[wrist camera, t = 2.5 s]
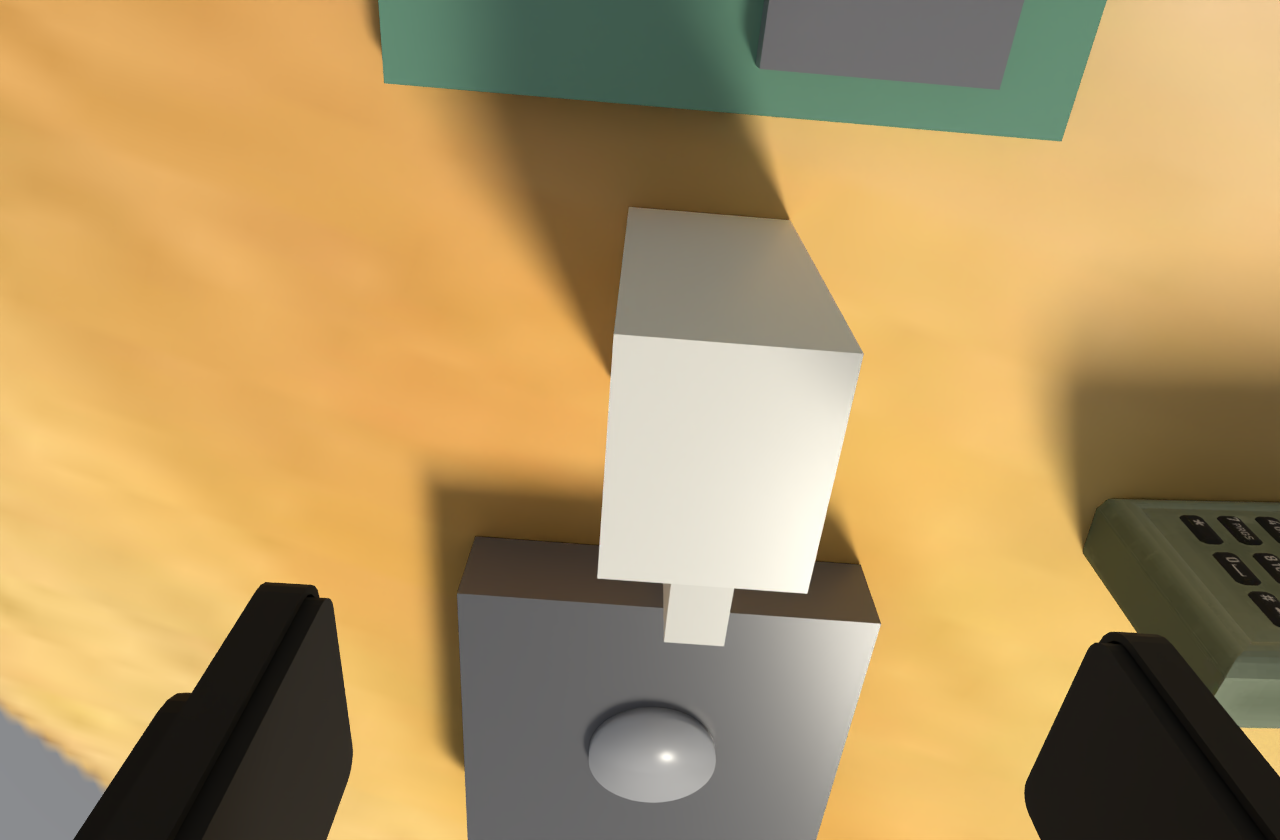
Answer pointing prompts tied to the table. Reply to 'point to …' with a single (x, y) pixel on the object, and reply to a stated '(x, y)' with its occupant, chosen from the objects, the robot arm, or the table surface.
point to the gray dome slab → (650, 702)
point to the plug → (721, 414)
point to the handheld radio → (1201, 590)
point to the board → (763, 56)
